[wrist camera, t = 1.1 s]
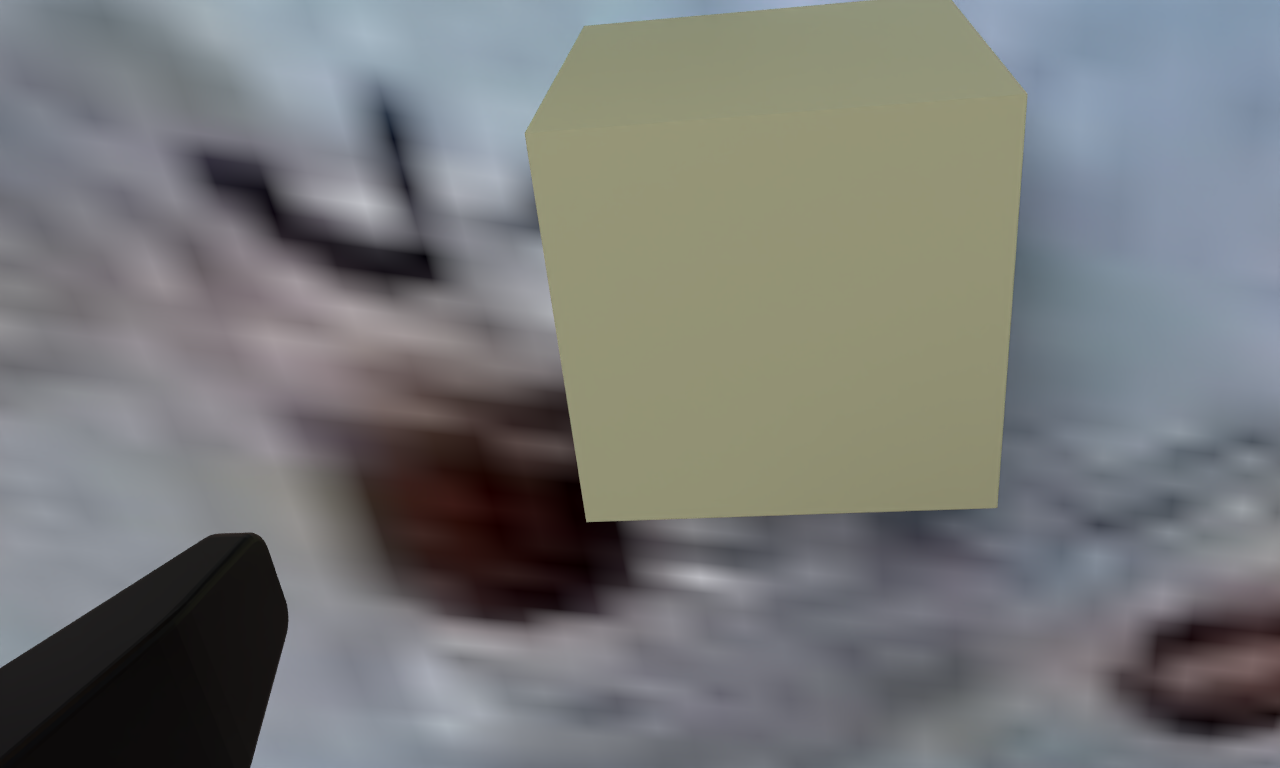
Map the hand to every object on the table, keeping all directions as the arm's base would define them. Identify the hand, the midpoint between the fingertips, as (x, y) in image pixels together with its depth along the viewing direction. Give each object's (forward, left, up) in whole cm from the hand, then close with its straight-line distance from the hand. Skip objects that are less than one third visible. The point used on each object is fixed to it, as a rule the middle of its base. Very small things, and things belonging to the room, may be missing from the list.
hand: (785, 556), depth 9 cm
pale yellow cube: (0, 0, -9) cm, 9 cm away
